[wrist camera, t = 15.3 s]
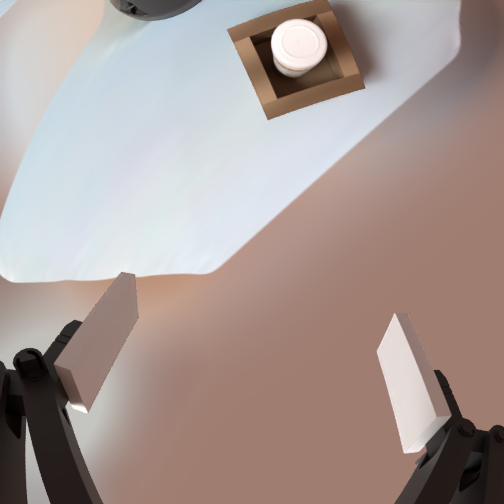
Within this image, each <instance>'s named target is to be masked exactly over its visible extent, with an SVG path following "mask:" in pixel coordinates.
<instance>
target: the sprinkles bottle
mask: <svg viewBox="0 0 504 504" xmlns="http://www.w3.org/2000/svg"><path fill="white" fill-rule="evenodd" d="M271 47H272V52H273V65H274V68H275V70H276V71H277V72H278V73H279V74H280V75H281V76H283V77H285V78H289V79H297V78H300V77H303V76H304V75H305V74H307V72H308V71H309V70H310V69H311V68H313V67H314V66H316V65H317V64H318V63H319V62H320V61H321V60H322V59H323V57H324V56H325V54H326V51H327V39H326V36H325V34H324V33H323V31H322V30H321V29H320V28H319V27H318V26H317V25H316V24H314V23H313V22H311V21H308V20H304V19H291V20H287V21H285V22H283V23H282V24H280V25H279V26H278V27H277V28H276V29H275V31H274V33H273V35H272V40H271Z"/></svg>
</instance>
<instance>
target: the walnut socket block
mask: <svg viewBox="0 0 504 504" xmlns="http://www.w3.org/2000/svg"><path fill="white" fill-rule="evenodd" d="M291 19H304V20H308V21H311V22H313V23H314V24H316V25H317V26H318V27H319V28H320V29H321V30H322V31H323V33H324V34H325V36H326V39H327V51H326V54H325V56H324V57H323V59H322V60H321V61H320V62H319V63H318V64H317V65H316V66H314V67H313V68H311V69H310V70H309V71H308V72H307V74H305V75H304V76H303V77H300V78H297V79H289V78H285V77H283V76H281V75H280V74H279V73H278V72H277V71H276V70H275V68H274V65H273V52H272V47H271V40H272V35H273V33H274V31H275V29H276V28H277V27H278V26H279V25H280V24H282V23H283V22H285V21H287V20H291ZM227 31H228V33H229V35H230V37H231V39H232V41H233V43H234V45H235V47H236V50H237V52H238V54H239V56H240V58H241V60H242V63H243V65H244V67H245V69H246V71H247V74H248V76H249V78H250V80H251V82H252V85H253V87H254V89H255V91H256V94H257V96H258V98H259V101H260V103H261V105H262V108H263V110H264V112H265V115H266V117H267V119H268V120H270V119H273V118H275V117H278V116H281V115H284V114H286V113H289V112H292V111H295V110H298V109H301V108H303V107H306V106H309V105H312V104H315V103H318V102H321V101H325V100H328V99H331V98H334V97H337V96H341V95H344V94H347V93H351V92H354V91H357V90H361V89H365V85H364V83H363V80H362V77H361V75H360V72H359V70H358V67H357V65H356V62H355V60H354V57H353V55H352V53H351V50H350V48H349V46H348V43H347V41H346V39H345V37H344V34H343V32H342V30H341V28H340V26H339V24H338V21H337V19H336V17H335V15H334V13H333V11H332V9H331V7H330V5H329V3H328V1H327V0H313V1H309V2H306V3H302V4H299V5H295V6H292V7H288V8H285V9H282V10H279V11H276V12H273V13H270V14H267V15H264V16H261V17H258V18H255V19H253V20H250V21H247V22H245V23H242V24H239V25H237V26H234V27H232V28H229V29H227Z"/></svg>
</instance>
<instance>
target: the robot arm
mask: <svg viewBox="0 0 504 504" xmlns="http://www.w3.org/2000/svg"><path fill="white" fill-rule="evenodd" d="M199 1H201V0H110V2H111V3H112V5H113V6H114V7H115V8H116V9H118V10H119V11H120V12H122V13H124V14H126V15H128V16H130V17H132V18H135V19H139V20H145V21H155V20H163V19H167V18H171V17H174V16H176V15H179V14H181V13H183V12H185V11H187V10H188V9H190V8H191V7H193V6H194V5H196V4H197V3H198V2H199ZM138 318H139V317H138V306H137V295H136V281H135V274H130V273H125V272H121V273H120V274H119V276H118V277H117V278H116V280H115V281H114V282H113V283H112V285H111V286H110V287H109V288H108V290H107V291H106V292H105V294H104V295H103V296H102V298H101V299H100V300H99V302H98V303H97V304H96V305H95V307H94V308H93V309H92V311H91V312H90V313H89V315H88V316H87V317H86V319H85V320H84V321H83V322H80V321H77V320H73V321H72V322H70V323H69V324H67V325H66V326H65V327H64V328H63V330H62V331H61V332H60V335H58V336H57V338H56V339H55V341H54V342H53V343H52V344H51V346H50V347H49V348H48V350H47V351H46V353H45V354H44V355H43V356H42V354H41V352H40V351H39V350H37V349H34V348H26V349H24V350H21V351H20V352H18V353H17V354H16V355H15V357H14V359H13V365H14V367H15V369H16V370H10V369H6V367H5V365H4V363H3V362H1V361H0V504H28V503H27V490H26V472H25V471H26V469H25V439H26V418H27V423H28V427H29V432H30V436H31V440H32V445H33V448H34V452H35V456H36V460H37V463H38V466H39V470H40V473H41V477H42V480H43V483H44V486H45V489H46V492H47V495H48V498H49V501H50V503H51V504H103V502H102V500H101V498H100V496H99V494H98V492H97V489H96V487H95V485H94V483H93V480H92V478H91V476H90V473H89V471H88V469H87V466H86V464H85V461H84V459H83V456H82V454H81V451H80V448H79V445H78V443H77V440H76V437H75V434H74V431H73V428H72V425H71V422H70V419H69V416H68V413H67V410H66V408H65V406H66V404H67V402H68V401H70V403H71V406H72V408H74V409H77V410H80V411H82V412H85V413H88V412H89V410H90V408H91V406H92V404H93V402H94V400H95V398H96V396H97V395H98V393H99V391H100V389H101V386H102V385H103V383H104V381H105V379H106V377H107V375H108V373H109V371H110V369H111V367H112V366H113V364H114V362H115V360H116V358H117V356H118V354H119V352H120V351H121V348H122V347H123V345H124V343H125V341H126V339H127V338H128V336H129V334H130V332H131V330H132V329H133V327H134V325H135V323H136V322H137V319H138ZM377 354H378V358H379V361H380V364H381V367H382V371H383V374H384V378H385V381H386V385H387V388H388V392H389V396H390V399H391V403H392V407H393V410H394V414H395V418H396V422H397V426H398V430H399V434H400V438H401V443H402V447H403V451H404V453H412V452H419V451H420V450H421V449H422V448H423V446H425V445H426V449H427V452H426V453H425V454H424V455H423V456H422V457H421V458H419V459H418V460H417V462H416V464H417V463H419V464H418V466H417V468H416V469H415V471H414V473H413V475H412V476H411V478H410V480H409V481H408V483H407V485H406V486H405V488H404V489H403V491H402V493H401V494H400V496H399V497H398V499H397V500H396V502H395V504H504V427H503V426H501V425H495V426H493V427H492V428H491V429H490V430H489V431H483V430H478V429H476V427H475V426H474V424H473V423H472V422H471V421H470V420H468V419H465V418H463V417H462V415H461V412H460V410H459V407H458V405H457V403H456V400H455V399H454V395H453V394H452V391H451V389H450V388H449V384H448V381H447V379H446V377H445V376H444V375H443V374H442V373H441V371H440V370H433V368H432V366H431V364H430V361H429V359H428V357H427V354H426V352H425V350H424V348H423V346H422V343H421V341H420V339H419V337H418V335H417V333H416V331H415V329H414V327H413V324H412V322H411V320H410V318H409V316H408V314H404V313H395V314H394V316H393V318H392V320H391V323H390V325H389V327H388V329H387V331H386V333H385V335H384V338H383V340H382V342H381V344H380V346H379V348H378V350H377Z"/></svg>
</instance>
